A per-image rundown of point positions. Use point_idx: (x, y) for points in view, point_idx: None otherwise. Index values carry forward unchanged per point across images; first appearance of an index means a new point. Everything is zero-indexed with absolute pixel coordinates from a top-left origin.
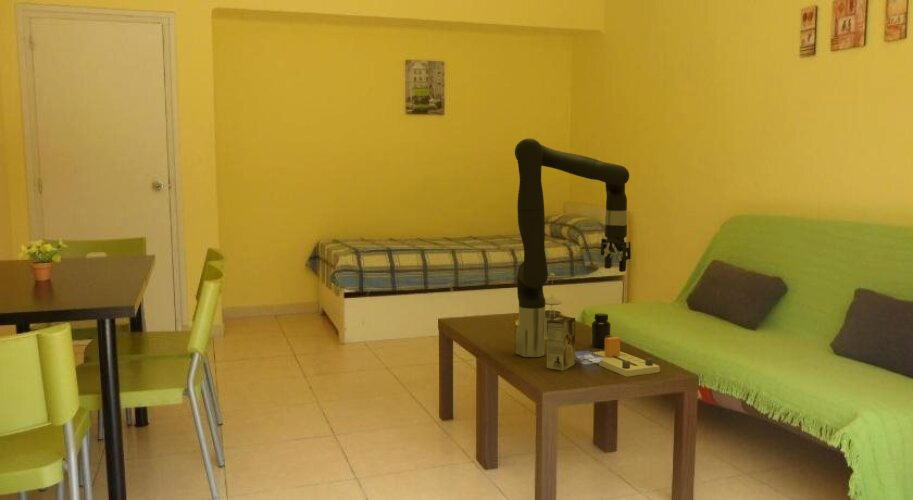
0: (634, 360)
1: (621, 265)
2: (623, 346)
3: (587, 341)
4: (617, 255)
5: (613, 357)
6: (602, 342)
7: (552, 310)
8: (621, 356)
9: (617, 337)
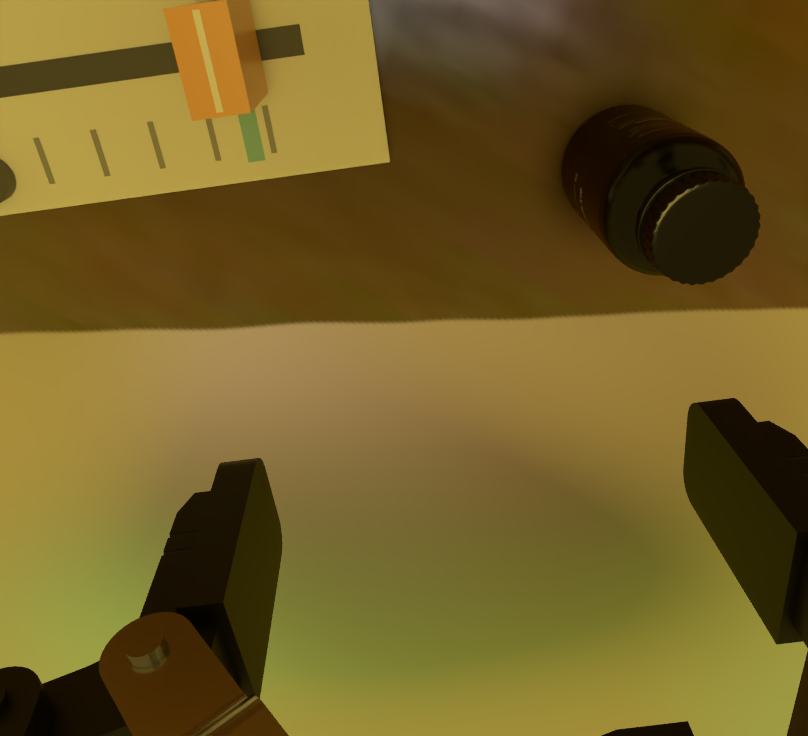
0: (96, 139)
1: (194, 553)
2: (562, 296)
3: (769, 145)
4: (245, 700)
5: None
6: (575, 159)
7: None
8: None
9: (216, 111)
